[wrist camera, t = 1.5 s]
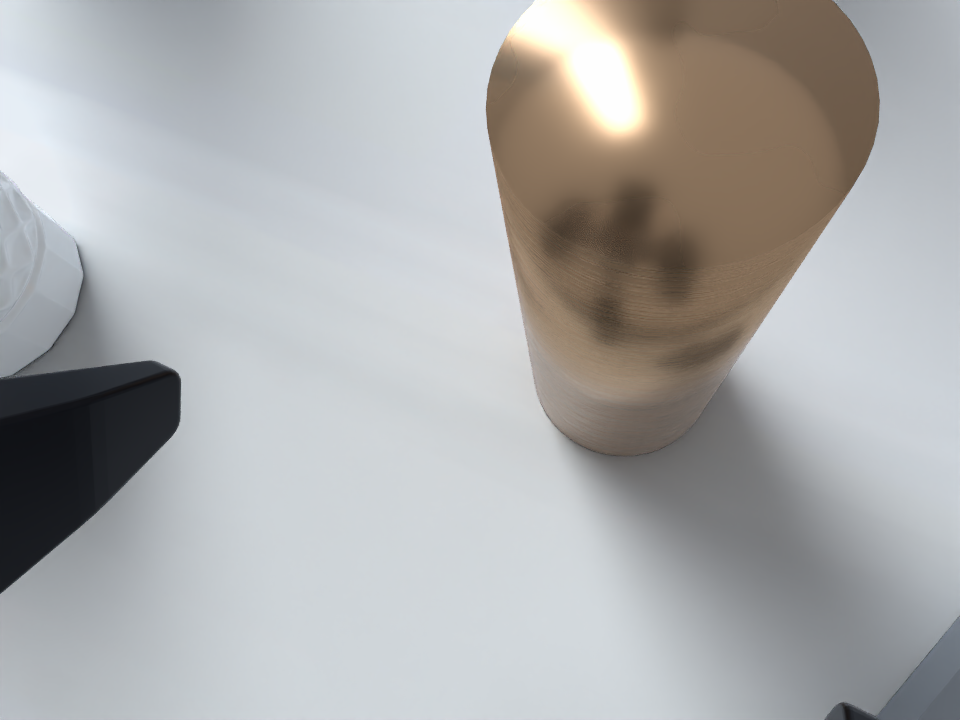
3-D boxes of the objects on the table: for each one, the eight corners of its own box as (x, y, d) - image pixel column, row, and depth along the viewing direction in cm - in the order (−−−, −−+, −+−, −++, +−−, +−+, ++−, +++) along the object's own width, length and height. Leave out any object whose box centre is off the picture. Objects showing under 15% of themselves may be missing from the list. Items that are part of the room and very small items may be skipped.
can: (628, 493, 21) (699, 348, 9) (498, 373, 23) (410, 113, 11) (749, 365, 22) (964, 72, 10) (614, 257, 24) (656, -109, 12)
